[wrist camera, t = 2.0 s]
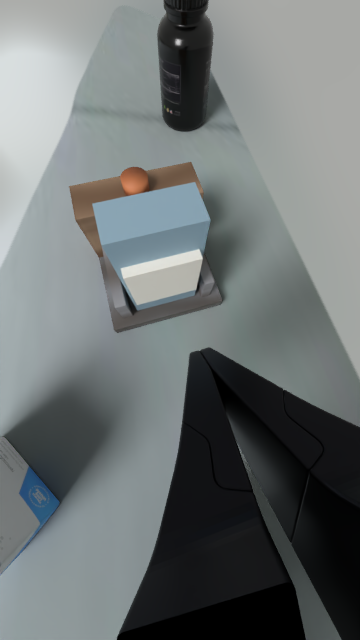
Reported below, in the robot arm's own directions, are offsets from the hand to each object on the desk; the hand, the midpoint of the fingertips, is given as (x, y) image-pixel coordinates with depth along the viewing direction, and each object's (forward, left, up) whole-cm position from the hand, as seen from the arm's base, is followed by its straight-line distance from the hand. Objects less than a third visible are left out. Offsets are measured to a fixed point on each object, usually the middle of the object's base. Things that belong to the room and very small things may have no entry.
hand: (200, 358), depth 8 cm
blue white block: (+9, 0, -12) cm, 15 cm away
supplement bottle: (+38, -11, -14) cm, 42 cm away
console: (+13, 0, -14) cm, 19 cm away
